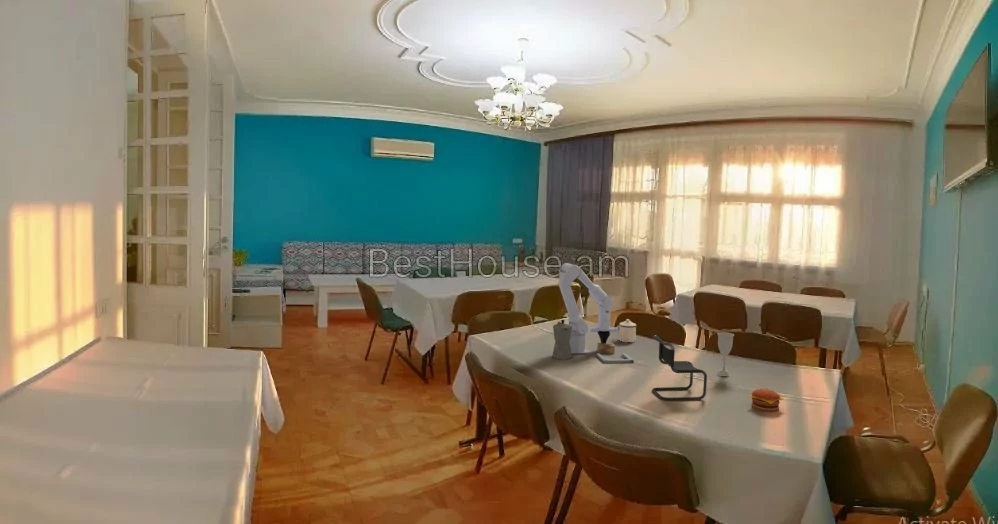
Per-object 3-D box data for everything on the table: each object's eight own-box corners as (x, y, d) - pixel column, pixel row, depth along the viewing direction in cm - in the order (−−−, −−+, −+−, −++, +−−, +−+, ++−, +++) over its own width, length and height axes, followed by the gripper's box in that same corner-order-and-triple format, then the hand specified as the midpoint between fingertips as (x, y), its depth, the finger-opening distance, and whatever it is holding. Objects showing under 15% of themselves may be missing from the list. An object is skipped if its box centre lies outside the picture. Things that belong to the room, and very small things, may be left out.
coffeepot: (575, 360, 265) (576, 322, 264) (555, 361, 264) (556, 322, 262) (566, 352, 281) (567, 316, 279) (548, 352, 279) (548, 316, 278)
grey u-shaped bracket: (604, 363, 262) (604, 360, 262) (596, 356, 274) (596, 353, 274) (633, 362, 263) (633, 360, 263) (624, 355, 276) (624, 353, 276)
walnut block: (597, 353, 280) (598, 345, 280) (597, 350, 285) (597, 342, 284) (614, 353, 279) (614, 345, 279) (613, 351, 284) (613, 343, 284)
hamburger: (759, 401, 213) (760, 384, 212) (784, 409, 205) (786, 391, 205) (745, 406, 207) (746, 388, 207) (770, 414, 200) (772, 396, 199)
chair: (648, 389, 225) (651, 334, 222) (691, 389, 226) (694, 334, 224) (661, 401, 212) (664, 343, 210) (706, 400, 213) (709, 342, 211)
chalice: (733, 378, 241) (735, 336, 239) (716, 377, 243) (718, 335, 241) (730, 373, 248) (732, 332, 247) (713, 372, 250) (715, 331, 248)
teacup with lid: (639, 341, 305) (640, 319, 304) (628, 343, 300) (629, 321, 298) (621, 337, 315) (622, 316, 313) (610, 339, 309) (611, 318, 308)
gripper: (615, 317, 290) (614, 343, 291) (587, 317, 288) (587, 344, 289) (620, 320, 283) (619, 347, 284) (591, 320, 281) (590, 347, 282)
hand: (603, 346), depth 286 cm, fingers closed
